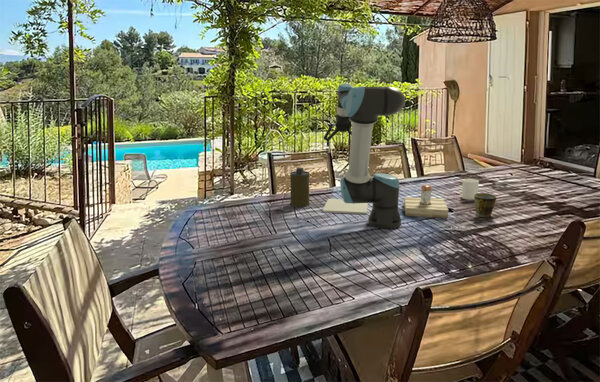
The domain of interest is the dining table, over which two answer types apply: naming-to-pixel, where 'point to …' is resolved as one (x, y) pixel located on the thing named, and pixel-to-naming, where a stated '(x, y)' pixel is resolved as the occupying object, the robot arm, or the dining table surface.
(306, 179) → the canister
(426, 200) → the white peg
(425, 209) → the block
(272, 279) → the dining table surface
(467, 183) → the cup
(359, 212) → the pad
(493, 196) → the ceramic cup
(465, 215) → the dining table surface
